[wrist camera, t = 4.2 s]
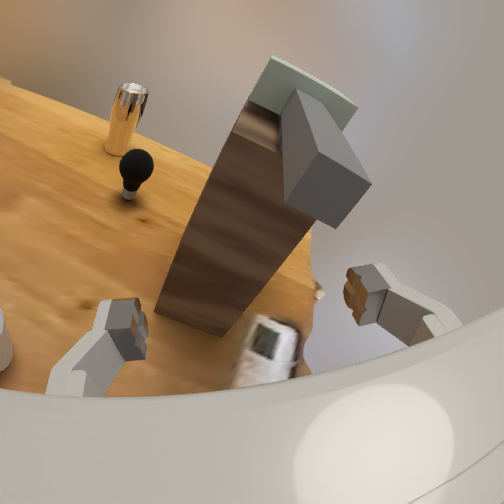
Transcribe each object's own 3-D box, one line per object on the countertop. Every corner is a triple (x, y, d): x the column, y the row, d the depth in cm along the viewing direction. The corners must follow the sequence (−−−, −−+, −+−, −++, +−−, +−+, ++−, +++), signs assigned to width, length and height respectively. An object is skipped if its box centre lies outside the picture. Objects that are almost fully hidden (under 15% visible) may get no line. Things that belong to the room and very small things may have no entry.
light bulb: (147, 207, 50) (163, 161, 44) (117, 211, 46) (129, 161, 40) (137, 187, 52) (150, 142, 46) (108, 190, 48) (119, 142, 42)
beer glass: (137, 153, 60) (157, 93, 51) (113, 160, 55) (131, 94, 45) (120, 139, 61) (137, 81, 52) (96, 145, 55) (112, 83, 46)
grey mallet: (379, 260, 16) (439, 195, 12) (212, 178, 13) (262, 80, 10) (323, 124, 35) (342, 93, 32) (253, 87, 33) (272, 54, 30)
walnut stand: (222, 337, 40) (346, 180, 23) (153, 311, 37) (236, 123, 21) (237, 251, 53) (319, 121, 37) (185, 229, 51) (253, 87, 34)
